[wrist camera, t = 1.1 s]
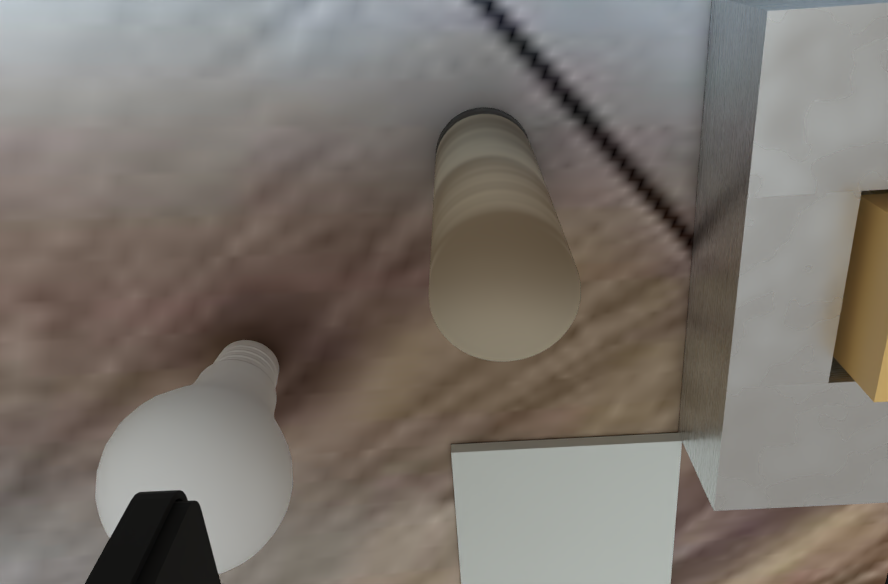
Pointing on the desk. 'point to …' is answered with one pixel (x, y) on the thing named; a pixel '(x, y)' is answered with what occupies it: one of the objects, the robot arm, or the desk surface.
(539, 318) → the beige cylinder
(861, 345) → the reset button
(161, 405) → the lightbulb
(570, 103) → the desk surface
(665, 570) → the mat
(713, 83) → the breaker box
